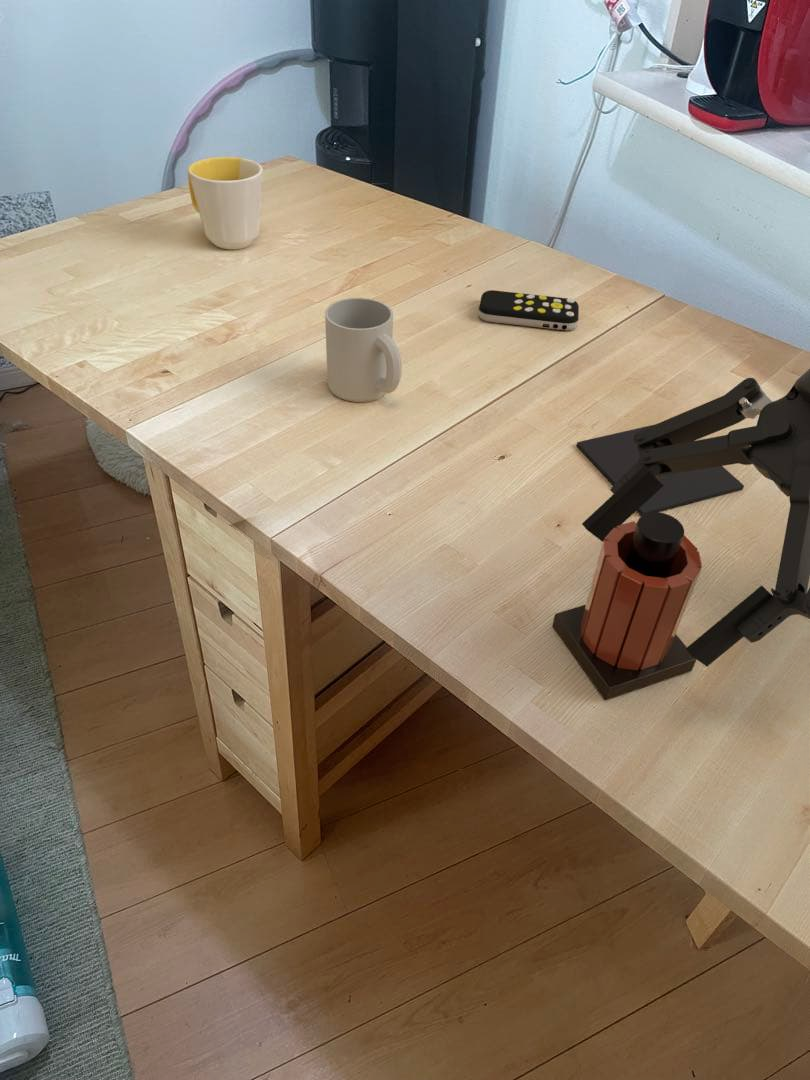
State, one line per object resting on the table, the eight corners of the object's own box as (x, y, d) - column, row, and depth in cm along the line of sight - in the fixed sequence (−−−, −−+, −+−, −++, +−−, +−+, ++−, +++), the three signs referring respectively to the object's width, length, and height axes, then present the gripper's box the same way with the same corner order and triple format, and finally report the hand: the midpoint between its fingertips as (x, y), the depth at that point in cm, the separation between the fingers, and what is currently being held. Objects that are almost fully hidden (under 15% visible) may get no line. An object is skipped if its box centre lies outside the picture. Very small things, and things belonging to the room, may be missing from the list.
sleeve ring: (686, 655, 63) (721, 573, 56) (611, 680, 60) (639, 597, 54) (636, 595, 67) (663, 512, 61) (565, 616, 65) (586, 533, 59)
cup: (361, 362, 96) (362, 291, 90) (421, 398, 91) (425, 325, 84) (314, 383, 92) (310, 311, 86) (373, 422, 87) (374, 347, 81)
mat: (743, 489, 80) (744, 485, 80) (641, 516, 77) (643, 512, 77) (670, 424, 89) (671, 420, 88) (576, 445, 85) (576, 442, 85)
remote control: (481, 300, 109) (483, 286, 107) (577, 311, 107) (579, 297, 106) (476, 322, 104) (478, 307, 103) (576, 333, 103) (579, 319, 101)
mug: (280, 247, 119) (275, 172, 112) (216, 262, 114) (206, 185, 107) (239, 216, 127) (231, 144, 120) (177, 228, 122) (165, 155, 115)
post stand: (692, 671, 63) (745, 550, 55) (605, 700, 61) (646, 579, 52) (633, 600, 69) (673, 480, 60) (551, 625, 66) (580, 504, 57)
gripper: (1050, 517, 49) (769, 733, 55) (770, 326, 66) (578, 507, 72) (1039, 465, 44) (730, 710, 50) (739, 272, 61) (533, 472, 66)
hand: (639, 591), depth 61 cm, fingers open, 13 cm apart
